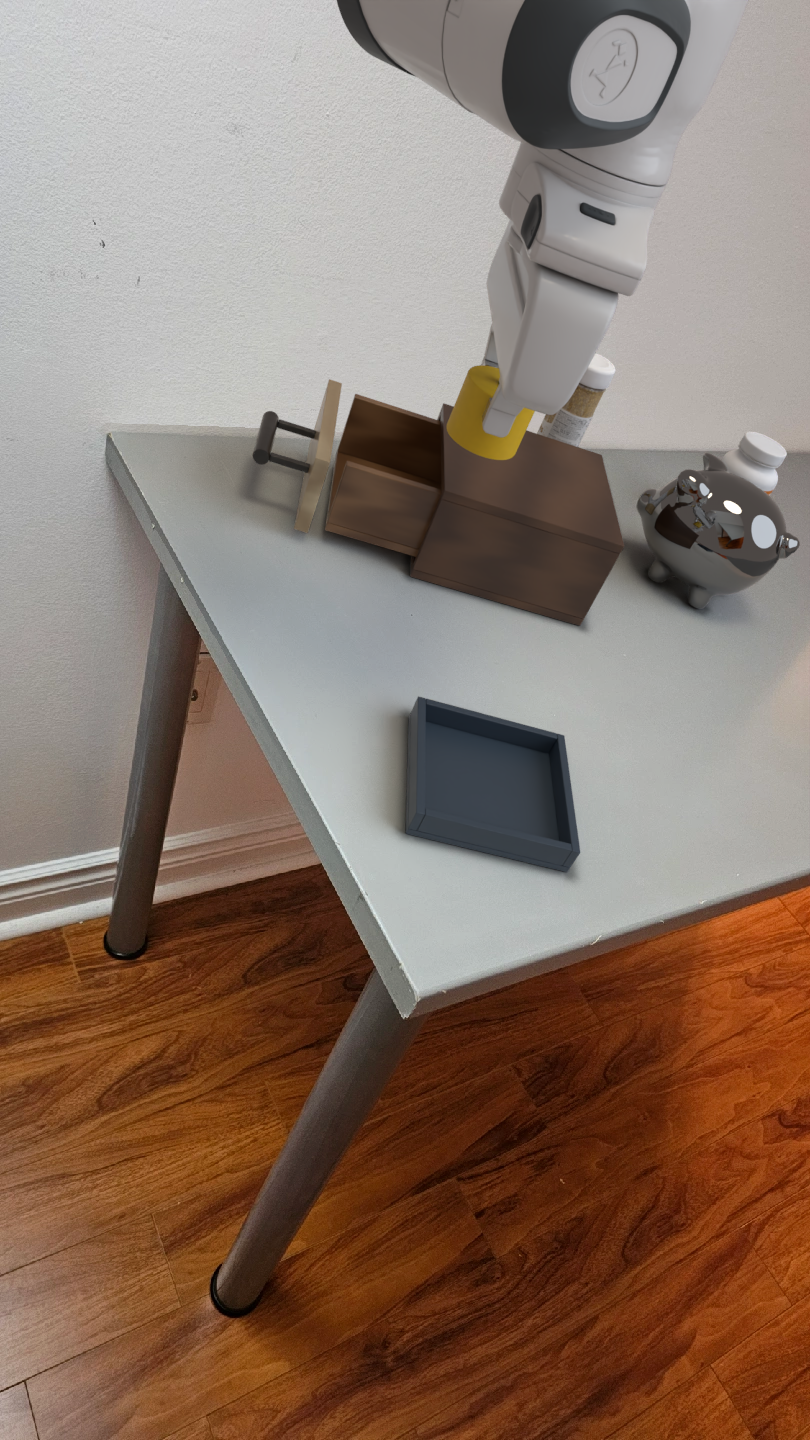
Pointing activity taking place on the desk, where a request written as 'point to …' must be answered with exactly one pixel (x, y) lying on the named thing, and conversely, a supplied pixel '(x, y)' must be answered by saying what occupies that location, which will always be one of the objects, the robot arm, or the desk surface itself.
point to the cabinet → (522, 526)
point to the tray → (490, 785)
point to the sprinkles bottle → (579, 404)
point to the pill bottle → (756, 460)
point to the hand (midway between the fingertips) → (489, 408)
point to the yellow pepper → (469, 417)
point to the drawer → (366, 470)
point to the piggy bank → (713, 531)
